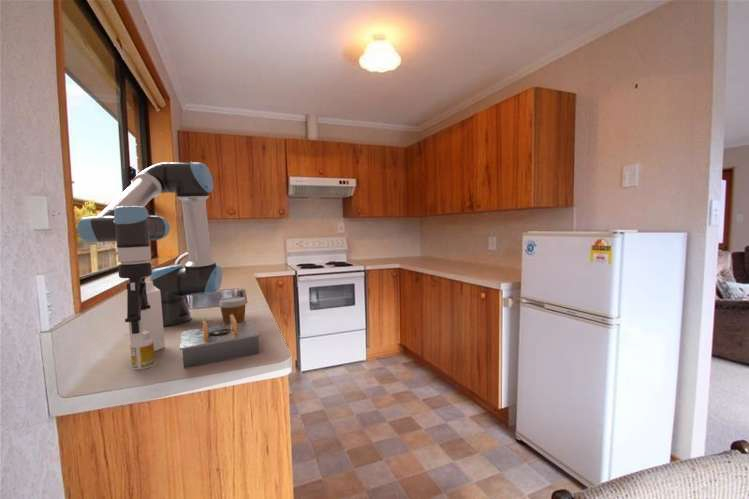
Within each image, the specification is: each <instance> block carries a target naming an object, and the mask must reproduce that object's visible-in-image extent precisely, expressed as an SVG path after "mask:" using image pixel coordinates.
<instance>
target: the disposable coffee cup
mask: <svg viewBox="0 0 749 499" xmlns="http://www.w3.org/2000/svg"><path fill="white" fill-rule="evenodd" d="M247 302H248V301H247V300H246V297H245V296H232V297H226V298H222V299H220V300H219V303H218V306H219V307H220V311H221V316H222V321H223V325H227V324H230V315H232V314H233V315H234V317H235V319H236V322H237V323H240V322H245V319H246V317H245V315H246V304H247Z"/></svg>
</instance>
